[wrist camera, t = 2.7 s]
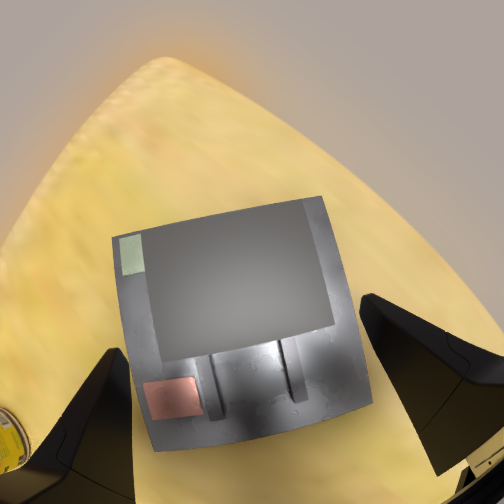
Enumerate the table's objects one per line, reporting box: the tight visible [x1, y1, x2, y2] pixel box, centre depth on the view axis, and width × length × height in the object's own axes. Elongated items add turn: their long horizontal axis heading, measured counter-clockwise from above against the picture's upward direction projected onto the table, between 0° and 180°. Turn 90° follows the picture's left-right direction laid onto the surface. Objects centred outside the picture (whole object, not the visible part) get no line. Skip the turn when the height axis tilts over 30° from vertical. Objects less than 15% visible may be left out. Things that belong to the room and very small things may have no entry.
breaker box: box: [112, 196, 373, 452], centre depth 17 cm, size 14×14×3 cm
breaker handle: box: [140, 199, 335, 362], centre depth 11 cm, size 3×4×11 cm
